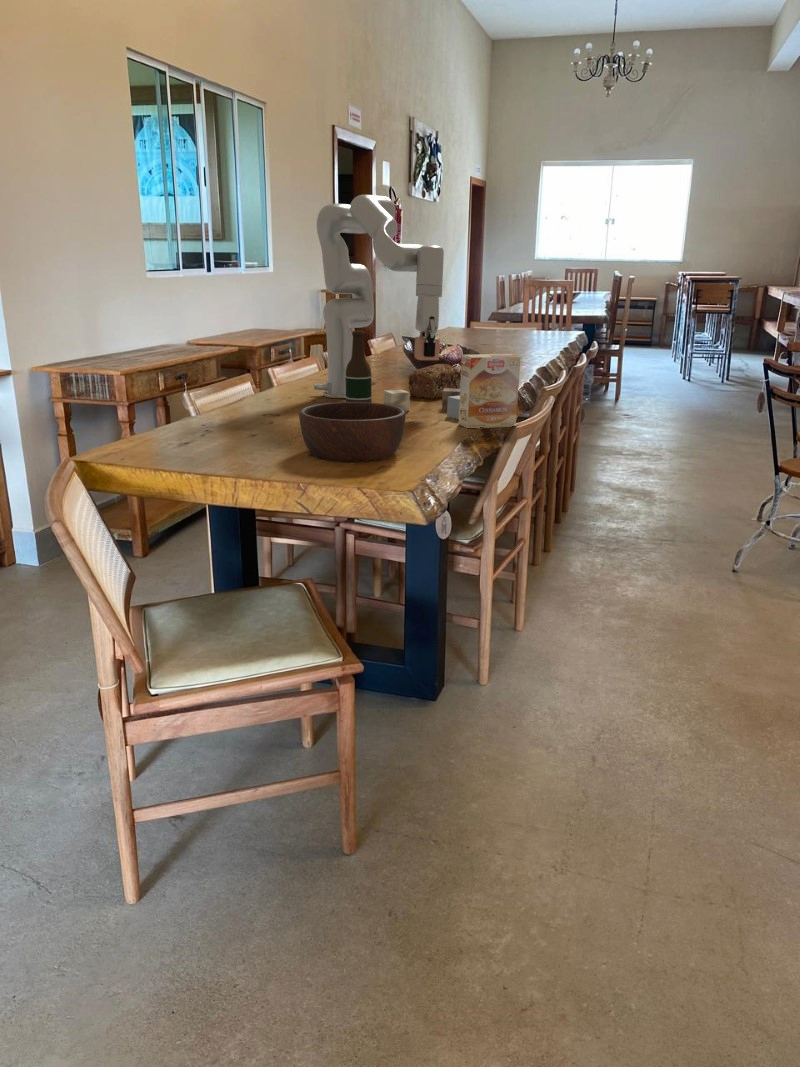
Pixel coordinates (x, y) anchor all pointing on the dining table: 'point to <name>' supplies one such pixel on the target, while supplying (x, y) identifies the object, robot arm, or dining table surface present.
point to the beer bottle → (358, 372)
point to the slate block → (453, 406)
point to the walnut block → (448, 393)
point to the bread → (433, 380)
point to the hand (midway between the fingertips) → (426, 354)
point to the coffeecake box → (489, 390)
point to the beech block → (397, 398)
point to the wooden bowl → (352, 430)
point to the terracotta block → (420, 349)
